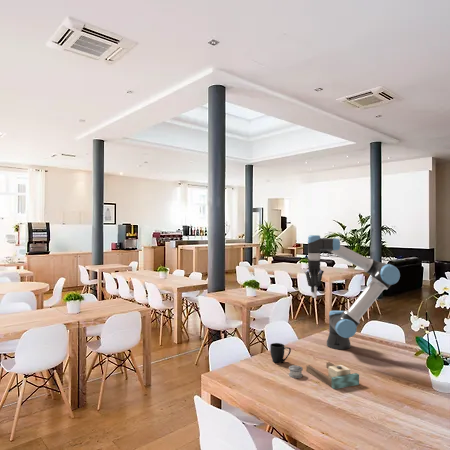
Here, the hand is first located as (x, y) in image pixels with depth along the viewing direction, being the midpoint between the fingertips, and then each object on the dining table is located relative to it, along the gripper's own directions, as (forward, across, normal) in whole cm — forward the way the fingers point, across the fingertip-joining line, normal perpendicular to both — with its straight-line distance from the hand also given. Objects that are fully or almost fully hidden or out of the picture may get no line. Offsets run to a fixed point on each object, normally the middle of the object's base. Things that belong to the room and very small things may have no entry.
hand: (314, 297), depth 229 cm
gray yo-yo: (+35, +30, +27) cm, 53 cm away
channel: (+34, +14, +35) cm, 51 cm away
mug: (+35, +28, +7) cm, 45 cm away
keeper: (+34, +14, +42) cm, 56 cm away
